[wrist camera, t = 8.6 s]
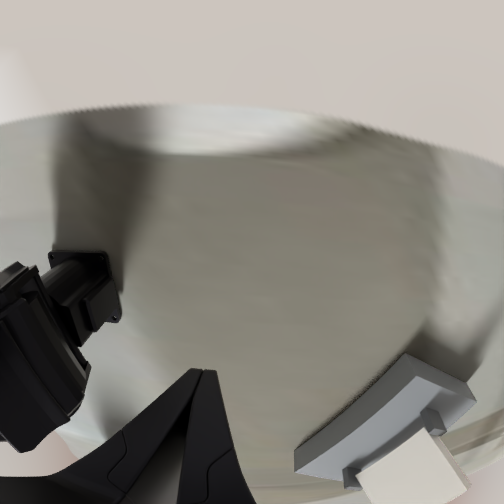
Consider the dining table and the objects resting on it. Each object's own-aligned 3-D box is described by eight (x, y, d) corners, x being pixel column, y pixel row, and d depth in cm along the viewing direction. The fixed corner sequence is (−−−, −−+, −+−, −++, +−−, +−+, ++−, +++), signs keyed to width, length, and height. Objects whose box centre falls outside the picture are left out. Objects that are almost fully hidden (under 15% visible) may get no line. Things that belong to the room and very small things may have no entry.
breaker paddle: (355, 475, 25) (389, 532, 18) (423, 427, 21) (467, 490, 15) (364, 470, 26) (397, 525, 19) (430, 423, 23) (472, 482, 16)
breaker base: (294, 450, 30) (294, 492, 24) (405, 352, 24) (427, 398, 18) (364, 466, 31) (370, 500, 26) (466, 383, 25) (486, 419, 20)
